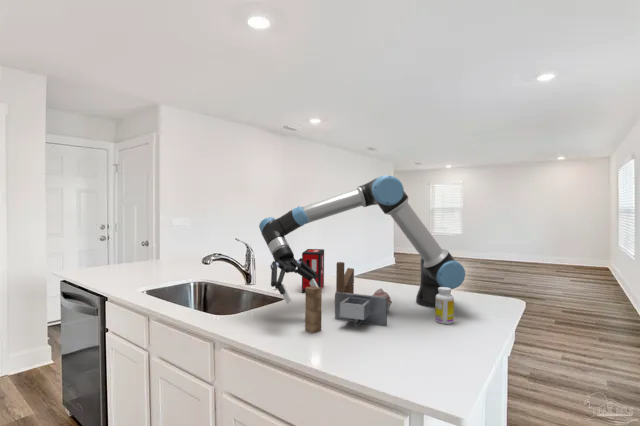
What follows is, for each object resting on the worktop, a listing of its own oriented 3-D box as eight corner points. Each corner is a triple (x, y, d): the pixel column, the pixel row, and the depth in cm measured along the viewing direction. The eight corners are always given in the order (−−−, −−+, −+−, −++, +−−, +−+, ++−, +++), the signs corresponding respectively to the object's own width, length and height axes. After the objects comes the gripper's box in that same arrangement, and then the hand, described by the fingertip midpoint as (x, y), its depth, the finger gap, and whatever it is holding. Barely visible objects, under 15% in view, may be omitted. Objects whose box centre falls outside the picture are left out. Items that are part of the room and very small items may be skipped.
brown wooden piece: (353, 298, 171) (354, 260, 171) (341, 303, 162) (341, 263, 162) (347, 297, 173) (347, 259, 173) (334, 302, 165) (334, 262, 164)
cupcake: (396, 312, 150) (396, 288, 150) (384, 317, 143) (384, 292, 143) (377, 307, 156) (377, 284, 156) (364, 312, 149) (364, 288, 149)
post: (313, 327, 131) (314, 286, 130) (321, 330, 128) (321, 288, 127) (305, 330, 128) (305, 287, 128) (312, 333, 125) (312, 289, 125)
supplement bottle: (453, 320, 140) (454, 287, 140) (453, 325, 134) (454, 290, 134) (435, 318, 143) (435, 285, 142) (434, 323, 136) (435, 289, 136)
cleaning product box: (319, 293, 180) (319, 253, 179) (301, 293, 181) (302, 253, 181) (323, 286, 196) (324, 249, 196) (307, 285, 198) (307, 248, 197)
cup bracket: (387, 324, 135) (387, 297, 135) (379, 333, 125) (379, 304, 125) (336, 317, 143) (337, 291, 143) (325, 325, 133) (326, 298, 133)
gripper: (302, 255, 151) (325, 298, 140) (249, 260, 135) (270, 310, 124) (310, 243, 147) (335, 287, 136) (256, 247, 131) (279, 297, 120)
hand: (304, 298), depth 130 cm, fingers open, 13 cm apart
